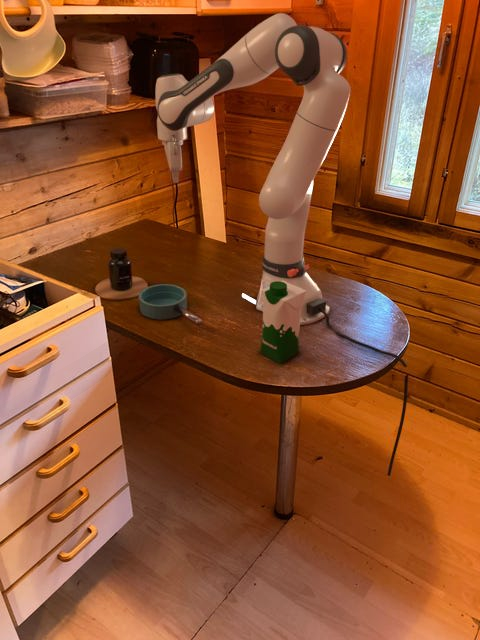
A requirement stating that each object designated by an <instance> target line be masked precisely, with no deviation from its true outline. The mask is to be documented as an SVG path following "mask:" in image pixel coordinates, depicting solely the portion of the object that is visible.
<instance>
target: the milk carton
mask: <svg viewBox="0 0 480 640" xmlns="http://www.w3.org/2000/svg"><path fill="white" fill-rule="evenodd" d="M261 293H262V299H263V312H262V329H261V341H260V349H259V350H260V351H259V353H260V354H262V355H263V356H265V357H267V358H269V359H271V360H272V361H274V362H275V363H278V364H280V365H282V364H283V363H285V362H286V361H288V360H290V359H291V358H294V357H295V356H297V355H299V354H300V339H299V338H300V326H301V325H300V317H301V307H302V304H303V300H304V297H305V293H306V290H303V289H301V288H299V287H296V286H294V285H292V284H290V283H287V282H285V281H281V282H280V281H275V282H272V283H270V286H269V287H266V288H264V289H262V290H261Z"/></svg>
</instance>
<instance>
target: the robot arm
mask: <svg viewBox="0 0 480 640" xmlns="http://www.w3.org/2000/svg"><path fill="white" fill-rule="evenodd" d="M347 60H348V51H347V45H346V44H345V43H344V41H343V39H342V38H341V37H339V35H337V34H336V33H333V32H330V31H326V30H325V29H323V28H320V27H317V26H308V25H304V24H297V22H296V21H295V20H294V18H293V17H291V16H290V15H289V14H287V13H284V12H282V13H281V12H279V13H276V14H274V15H272V16H270V17H268V18H266V19H265V20H263V21H262V22H260V23H258V24H257V25H256V26H255V27H253V28H251V30H249V31H248V32H247V33H245V34H244V36H242V38H240V39H239V40H238V41H237V42H236V43H234V44H233V45H232V46H231V47H230V48H229V49H228V50H227V51H226V52H225V53H224V54H222V55H221V56H220V57H219V58H218V59H217V60H215V61H214V62H213V63H212V64H210V65H209V66H208V67H206V68H205V69H204V70H202V71H201V72H199V73H198V74H197V75H196V76H194V77H193V78H192V79H190V80H189V81H188V80H187V79H186V78H185V76H184V75H183V74H181V73H170V74H169V73H168V74H163V75H161V76H159V77H158V78H157V79H156V83H155V92H154V93H155V94H154V95H155V108H156V111H157V119H156V129H157V139H158V140H159V141H162V142H161V144H162V145H163V146H164V151H165V152H164V153H165V156H166V160H167V163H168V167H169V171H170V175H171V176H172V177H171V178H172V183H173V184H178V183H179V182H180V180H179V176H180V171H182V170H183V159H182V158H183V157H182V147H181V146H182V145H184V141H185V140H187V139H188V128H189V127H194V126H198V125H201V124H204V123H207V122H209V121H210V120H211V119H212V117H213V116H214V113H215V102H214V99H213V97H215V95H218V94H220V93H222V92H225V91H226V92H227V91H229V90H234V89H239V88H244V87H249V86H252V85H254V84H257V83H259V82H261V81H262V80H264V79H266V78H267V77H269V76H270V75H271V74H273V73H274V72H275V71H277V70H278V69H280V70H281V71H282V72H283V73H284V75H286V76H287V77H288V78H290V80H291V81H292V82H293V83H294V84H295V85H296V86H298V87H300V86H303V96H302V98H301V101H300V104H299V107H298V109H297V111H296V114H295V116H294V118H293V121H292V124H291V125H290V127H289V131H288V134H287V136H286V139H285V141H284V143H283V145H282V147H281V149H280V151H279V152H278V155H277V156H276V158H275V160H274V162H273V164H272V167H271V168H270V171H269V172H268V174H267V176H266V179H265V182H264V184H263V185H262V188H261V189H260V193H259V196H258V205H259V208H260V210H261V211H262V213H263V214H264V215H265V216H266V217H268V219H267V223H266V226H265V231H264V248H263V249H264V252H263V255H262V260H261V268H262V275H261V281H260V285H259V291H258V294H257V296H256V299H254V298H252V297H250V296H249V295H247V294H245V293H242V294H241V297H242V298H243V299H246V300H247V301H248V302H250V303H252V304H254V305H255V306H256V307H255V309H256V310H258V311H260V312H262V313H263V299H262V293H261V290H262V289H264V288H266V287H269V286H270V283H272V282H275V281H280V282H281V281H285V282H287V283H290V284H292V285H294V286H296V287H299V288H301V289H303V290H306V293H305V297H304V300H303V304H302V307H301V317H300V326H304V325H308V324H313V323H316V322H318V321H320V320H322V319H323V318H325V324H326V325H327V327H328V328H329V329H331V330H332V331H333V332H334V333H335V334H336V335H337V336H339V337H341V338H344V339H345V340H347V341H349V342H351V343H353V344H356V345H359V346H361V347H364V348H366V349H368V350H372V351H374V352H376V353H379V354H382V355H384V356H387V357H388V356H389V357H391V358H395V359H396V360H398V362H400V363H401V365H402V367H404V368H408V365H407V363H406V362H405V361H404V359H402V357H400V356H399V355H397V354H395V353H393V352H389V351H385V350H382V349H380V348H377V347H374V346H372V345H370V344H367V343H364V342H362V341H358V340H356V339H354V338H352V337H350V336H348V335H347V334H344V333H341V332H340V331H338V330H336V329H335V328H334V327H333V326H332V325H331V323H330V317H329V315H328V314H329V313H330V307H329V305H327V301H326V300H325V299H323V293H322V290H321V289H320V288H319V286H318V284H317V282H315V281H314V279H312V278H311V276H310V274H309V273H308V272H307V269H309V268H310V263H308V264H306V261H305V258H304V246H305V236H306V235H305V234H306V228H307V222H308V217H309V213H310V206H311V200H312V196H313V195H312V194H313V187H314V179H315V177H316V176H317V174H318V172H319V171H320V169H321V167H322V164H323V162H324V160H325V159H326V157H327V155H328V152H329V150H330V148H331V146H332V144H333V142H334V139H335V137H336V136H337V133H338V131H339V128H340V126H341V124H342V121H343V119H344V116H345V113H346V111H347V107H348V104H349V99H350V97H351V86H350V83H349V82H348V81H347V79H346V78H345V77H344V76H343V75H341V74H340V73H341V72H342V71H343V70H344V69H345V66H346V63H347ZM403 384H404V385H403V387H404V388H403V402H402V410H401V415H400V421H399V425H398V429H397V434H396V438H395V442H394V445H393V449H392V453H391V456H390V461H389V465H388V469H387V476H388V477H391V474H392V470H393V465H394V460H395V457H396V452H397V449H398V446H399V443H400V438H401V434H402V430H403V426H404V421H405V416H406V411H407V402H408V392H409V391H408V386H409V373H408V374H406V375H405V376H404V383H403Z"/></svg>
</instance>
